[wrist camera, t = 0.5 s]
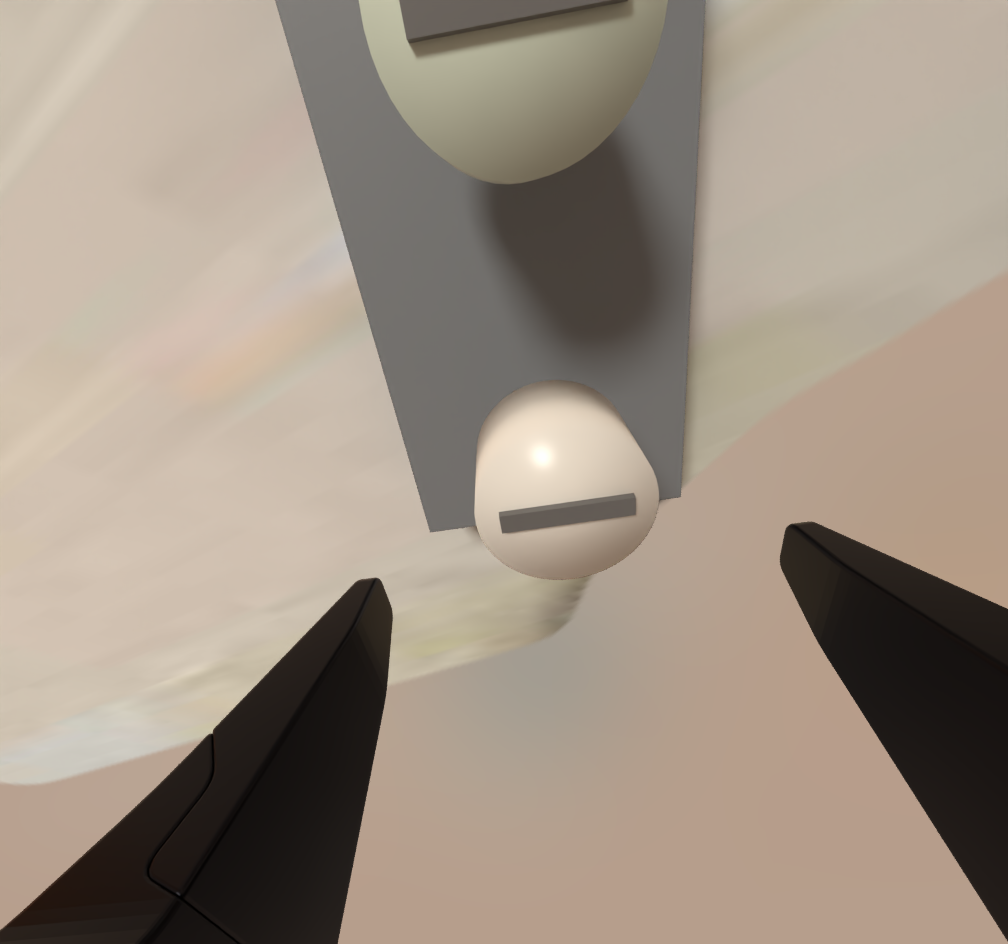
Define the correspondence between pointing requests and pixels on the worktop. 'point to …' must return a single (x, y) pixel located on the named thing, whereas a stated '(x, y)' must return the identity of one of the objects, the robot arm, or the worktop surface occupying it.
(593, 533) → the knob
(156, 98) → the worktop surface
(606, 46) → the knob centre
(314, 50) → the knob mount
